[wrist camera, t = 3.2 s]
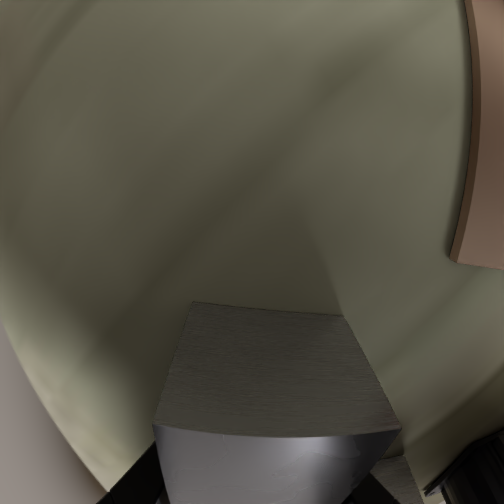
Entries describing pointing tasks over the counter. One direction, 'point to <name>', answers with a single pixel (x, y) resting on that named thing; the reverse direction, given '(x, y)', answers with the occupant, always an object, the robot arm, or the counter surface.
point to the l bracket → (273, 412)
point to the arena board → (484, 143)
